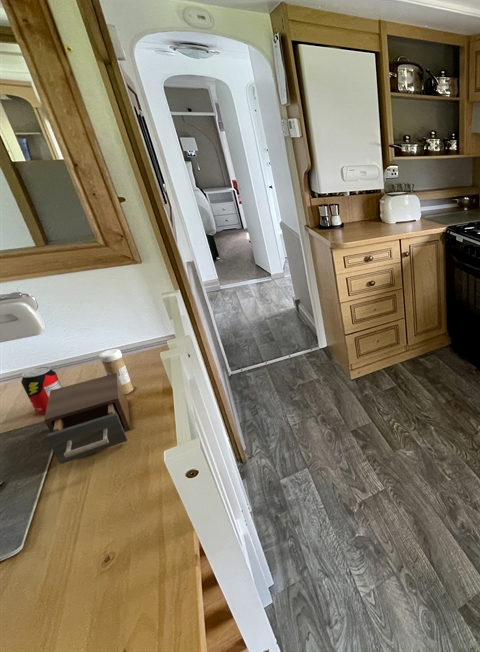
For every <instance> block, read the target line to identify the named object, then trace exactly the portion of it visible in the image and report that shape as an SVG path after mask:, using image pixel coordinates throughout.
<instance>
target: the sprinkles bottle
mask: <svg viewBox="0 0 480 652" xmlns="http://www.w3.org/2000/svg"><path fill="white" fill-rule="evenodd" d="M98 357H99V360H100V362H101V363H102V365H103V367H104V370H105V374H106V376H107V375H111V374H115V373H117V375H118V377H119V380H120V383H121V385H122V388H123V391H124V393H125V395H128V394H130V393H131V392H133V391H134V386H133V385H132V382H131V378H130V376H129V375H130V374H129V372H128V370H127V367H126V364H125V362H124V359H123V354H122V352H121V350H120V349H118V348H115V349H113V348H112V349H108V350H104V351H102V352H101V353H99V355H98Z"/></svg>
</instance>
